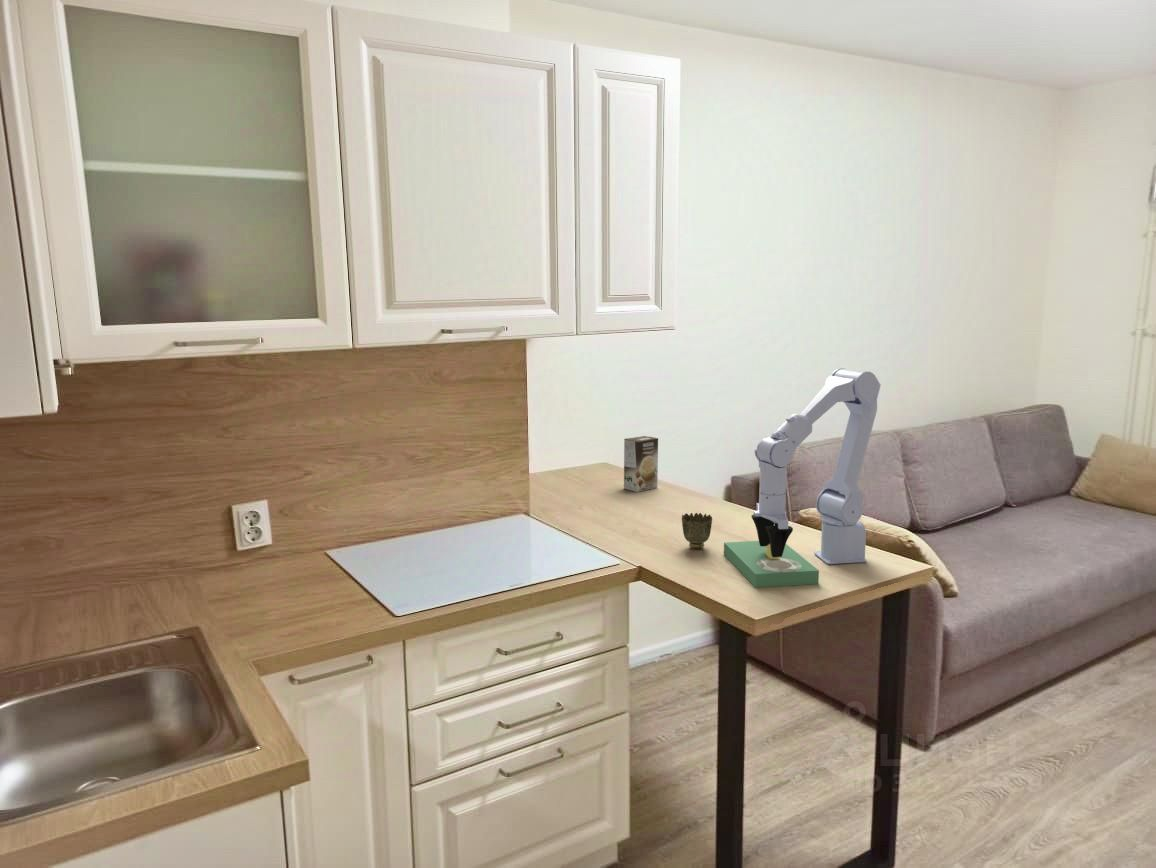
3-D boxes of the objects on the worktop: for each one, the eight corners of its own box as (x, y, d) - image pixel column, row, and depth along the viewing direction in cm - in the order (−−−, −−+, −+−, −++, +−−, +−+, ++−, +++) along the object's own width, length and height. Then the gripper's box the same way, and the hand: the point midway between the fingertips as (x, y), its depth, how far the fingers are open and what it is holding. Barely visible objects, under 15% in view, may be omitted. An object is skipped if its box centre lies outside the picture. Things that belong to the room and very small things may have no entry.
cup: (711, 553, 198) (711, 521, 197) (680, 552, 200) (680, 519, 198) (712, 544, 205) (713, 512, 204) (682, 542, 207) (682, 511, 205)
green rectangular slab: (780, 551, 199) (780, 539, 199) (818, 583, 178) (818, 570, 177) (723, 554, 197) (724, 542, 197) (755, 587, 176) (755, 574, 175)
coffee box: (637, 492, 257) (637, 441, 254) (623, 488, 261) (623, 438, 259) (658, 487, 262) (658, 437, 259) (644, 484, 267) (644, 435, 264)
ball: (786, 552, 183) (781, 561, 185) (780, 539, 185) (775, 548, 188) (772, 553, 182) (766, 563, 184) (766, 540, 184) (760, 549, 187)
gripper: (744, 485, 190) (742, 542, 192) (766, 501, 176) (764, 562, 178) (773, 483, 191) (772, 540, 193) (798, 499, 177) (796, 560, 179)
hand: (770, 551), depth 186 cm, fingers open, 7 cm apart
